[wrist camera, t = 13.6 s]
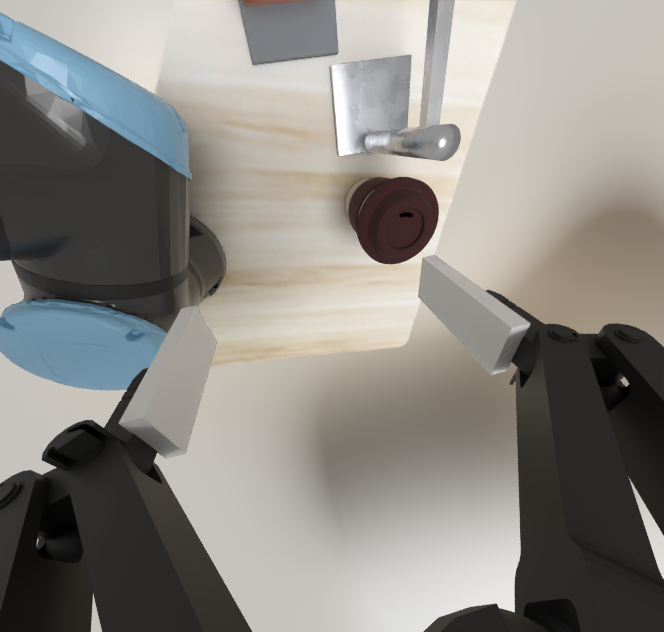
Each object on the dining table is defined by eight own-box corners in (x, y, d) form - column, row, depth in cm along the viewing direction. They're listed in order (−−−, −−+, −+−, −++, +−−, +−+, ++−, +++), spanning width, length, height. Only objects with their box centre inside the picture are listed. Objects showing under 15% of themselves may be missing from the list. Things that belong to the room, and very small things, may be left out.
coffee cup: (367, 244, 43) (402, 283, 31) (324, 210, 38) (346, 242, 27) (406, 195, 39) (462, 218, 28) (363, 151, 35) (410, 156, 23)
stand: (337, 157, 34) (386, 170, 19) (324, 1, 26) (393, -191, 11) (403, 146, 35) (498, 151, 20) (411, -8, 27) (588, -200, 12)
